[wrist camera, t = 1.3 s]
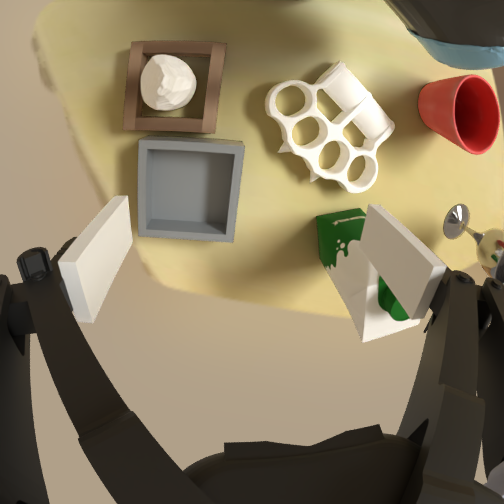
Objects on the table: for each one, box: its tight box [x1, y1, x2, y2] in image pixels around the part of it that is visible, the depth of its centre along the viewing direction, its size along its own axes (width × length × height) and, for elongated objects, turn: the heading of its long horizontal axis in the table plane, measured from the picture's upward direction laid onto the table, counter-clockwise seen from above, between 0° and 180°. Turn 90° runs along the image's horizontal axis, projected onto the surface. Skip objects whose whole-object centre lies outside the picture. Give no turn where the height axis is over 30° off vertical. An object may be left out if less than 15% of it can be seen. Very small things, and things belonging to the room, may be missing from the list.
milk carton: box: [316, 208, 420, 342], centre depth 35 cm, size 9×9×20 cm
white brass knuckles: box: [265, 61, 395, 193], centre depth 35 cm, size 3×18×15 cm
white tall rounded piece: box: [141, 55, 197, 111], centre depth 26 cm, size 6×12×6 cm
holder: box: [123, 41, 227, 134], centre depth 30 cm, size 11×11×3 cm
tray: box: [138, 135, 245, 243], centre depth 36 cm, size 12×12×4 cm
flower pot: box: [418, 75, 500, 155], centre depth 30 cm, size 11×11×10 cm
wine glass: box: [444, 204, 504, 285], centre depth 38 cm, size 8×8×15 cm
